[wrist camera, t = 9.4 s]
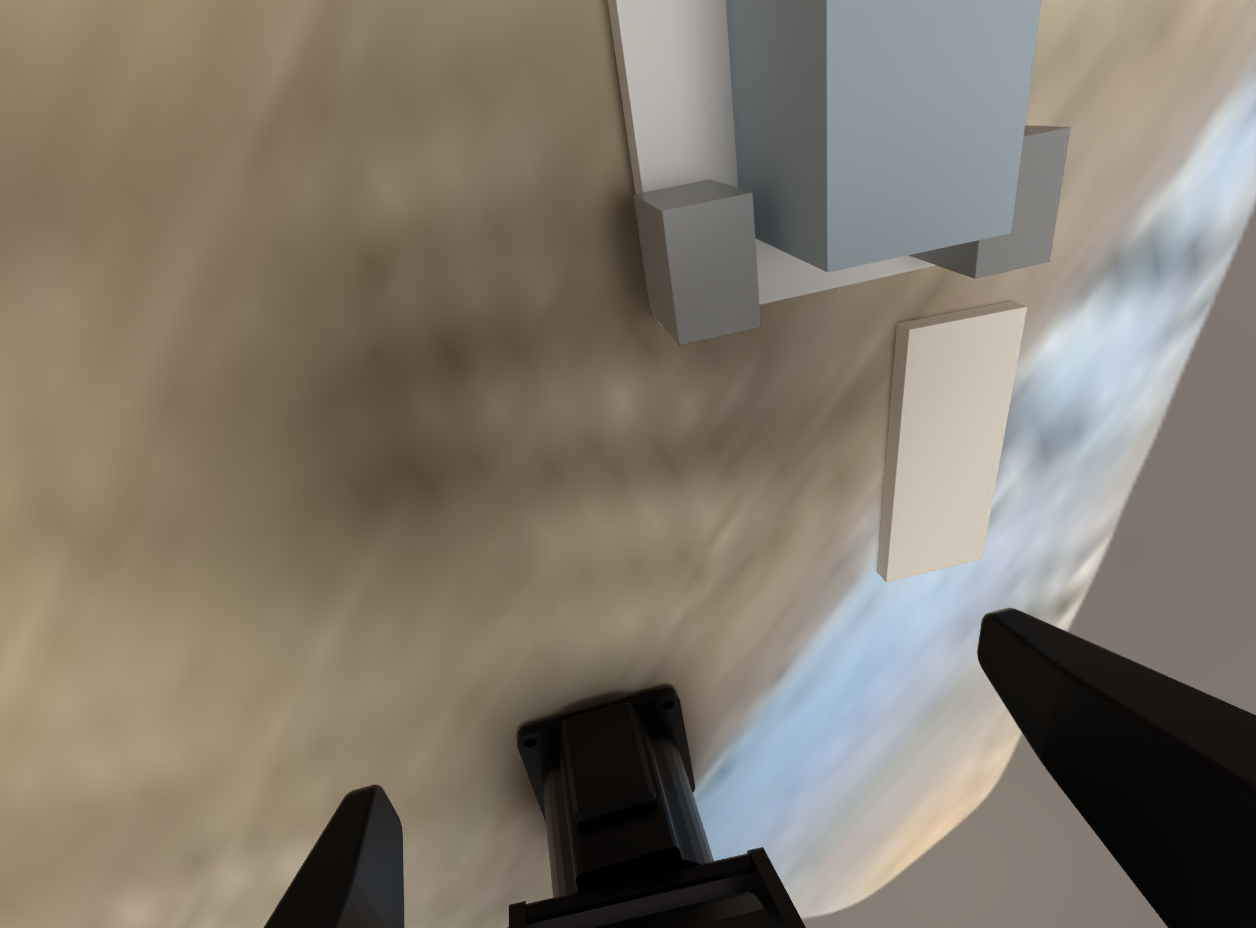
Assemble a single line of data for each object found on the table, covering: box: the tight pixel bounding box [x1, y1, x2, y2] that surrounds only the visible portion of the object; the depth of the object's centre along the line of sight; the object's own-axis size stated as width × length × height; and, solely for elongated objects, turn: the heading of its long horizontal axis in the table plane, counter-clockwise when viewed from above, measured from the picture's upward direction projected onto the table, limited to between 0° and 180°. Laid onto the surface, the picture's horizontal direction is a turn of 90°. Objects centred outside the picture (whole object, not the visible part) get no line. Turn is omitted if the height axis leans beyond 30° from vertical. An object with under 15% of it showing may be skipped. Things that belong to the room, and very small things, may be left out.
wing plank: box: [877, 301, 1027, 583], centre depth 24 cm, size 10×4×1 cm, turn 7°
